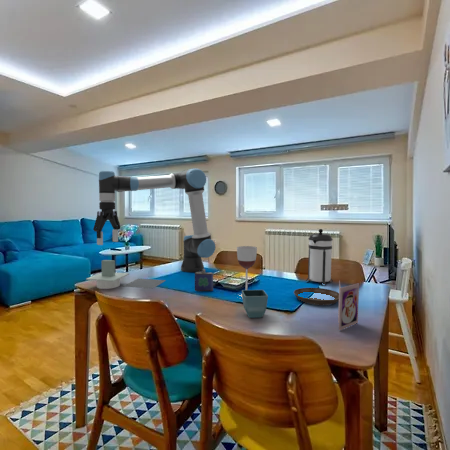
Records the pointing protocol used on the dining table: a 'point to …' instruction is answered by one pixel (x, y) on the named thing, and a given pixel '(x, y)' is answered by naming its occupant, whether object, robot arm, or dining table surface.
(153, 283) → the mat
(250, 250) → the wineglass
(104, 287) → the bowl
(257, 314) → the flower pot
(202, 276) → the flask
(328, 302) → the plant saucer
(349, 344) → the dining table surface
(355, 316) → the greeting card
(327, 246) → the coffee press
